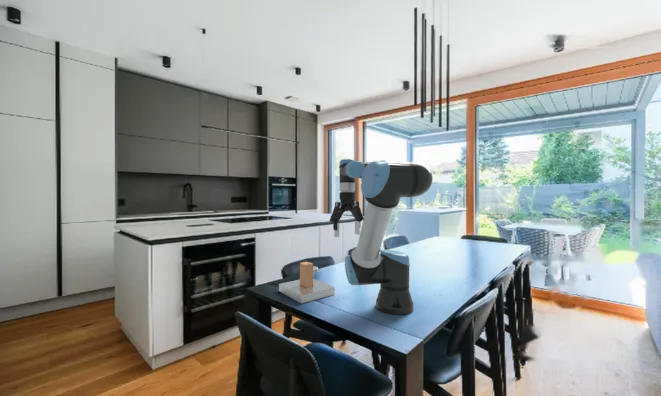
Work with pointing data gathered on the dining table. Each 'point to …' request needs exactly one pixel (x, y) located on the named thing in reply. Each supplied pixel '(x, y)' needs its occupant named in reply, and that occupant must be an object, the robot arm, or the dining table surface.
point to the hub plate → (306, 290)
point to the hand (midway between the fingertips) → (347, 235)
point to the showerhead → (315, 269)
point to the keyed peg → (306, 274)
